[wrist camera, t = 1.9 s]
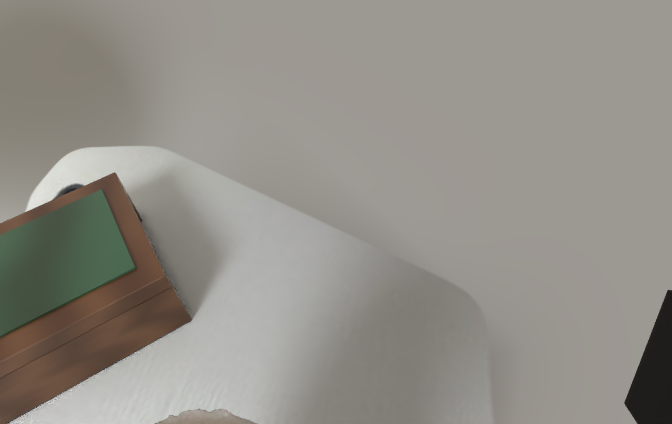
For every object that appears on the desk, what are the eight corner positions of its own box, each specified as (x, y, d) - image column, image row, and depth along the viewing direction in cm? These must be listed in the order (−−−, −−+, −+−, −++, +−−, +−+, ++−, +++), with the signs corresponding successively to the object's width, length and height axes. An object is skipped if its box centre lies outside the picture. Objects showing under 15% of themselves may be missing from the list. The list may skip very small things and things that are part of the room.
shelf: (139, 213, 48) (104, 152, 43) (191, 320, 38) (153, 255, 33) (-19, 289, 44) (-76, 231, 39) (-9, 432, 34) (-85, 375, 29)
